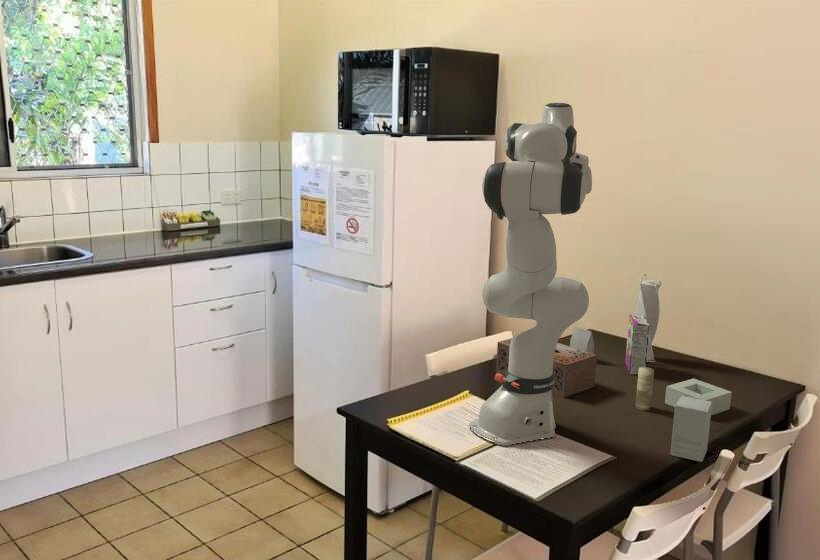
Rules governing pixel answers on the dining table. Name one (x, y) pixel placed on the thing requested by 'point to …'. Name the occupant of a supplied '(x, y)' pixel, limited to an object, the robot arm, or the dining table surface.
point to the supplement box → (691, 428)
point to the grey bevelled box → (582, 340)
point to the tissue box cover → (560, 368)
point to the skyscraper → (649, 310)
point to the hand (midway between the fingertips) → (554, 205)
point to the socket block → (699, 394)
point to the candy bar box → (636, 343)
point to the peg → (644, 388)
